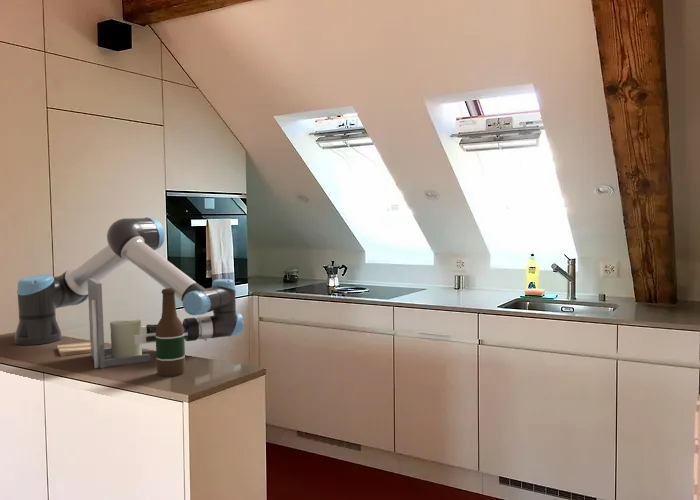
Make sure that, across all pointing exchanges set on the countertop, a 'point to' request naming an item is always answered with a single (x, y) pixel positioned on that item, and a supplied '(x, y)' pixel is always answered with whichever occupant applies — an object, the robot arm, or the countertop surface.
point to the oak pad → (74, 348)
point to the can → (125, 338)
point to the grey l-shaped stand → (98, 332)
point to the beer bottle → (170, 338)
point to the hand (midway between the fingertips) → (129, 336)
